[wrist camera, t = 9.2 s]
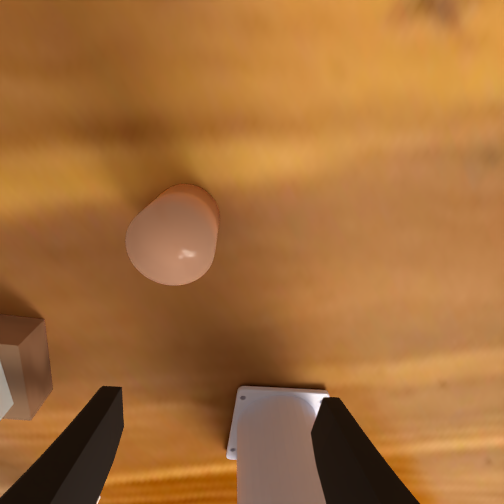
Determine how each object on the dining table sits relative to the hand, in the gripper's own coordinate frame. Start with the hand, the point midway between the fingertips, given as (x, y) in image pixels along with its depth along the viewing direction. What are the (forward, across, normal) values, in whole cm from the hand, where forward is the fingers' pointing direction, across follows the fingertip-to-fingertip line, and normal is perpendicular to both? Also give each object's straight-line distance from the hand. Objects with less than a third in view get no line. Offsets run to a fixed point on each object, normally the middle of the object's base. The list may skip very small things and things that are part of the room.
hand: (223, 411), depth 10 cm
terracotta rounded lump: (+10, +3, -4) cm, 11 cm away
